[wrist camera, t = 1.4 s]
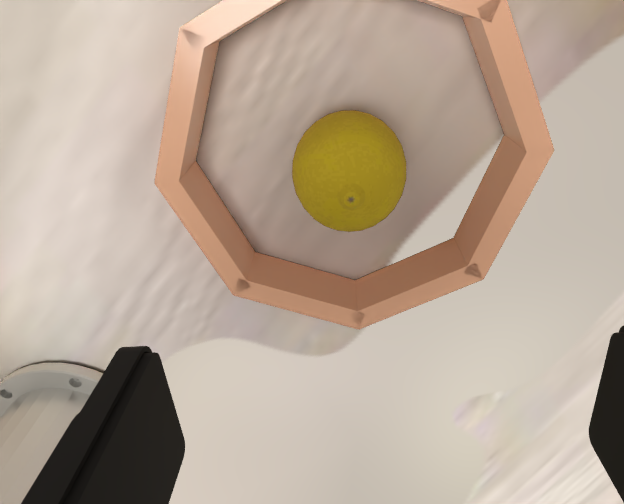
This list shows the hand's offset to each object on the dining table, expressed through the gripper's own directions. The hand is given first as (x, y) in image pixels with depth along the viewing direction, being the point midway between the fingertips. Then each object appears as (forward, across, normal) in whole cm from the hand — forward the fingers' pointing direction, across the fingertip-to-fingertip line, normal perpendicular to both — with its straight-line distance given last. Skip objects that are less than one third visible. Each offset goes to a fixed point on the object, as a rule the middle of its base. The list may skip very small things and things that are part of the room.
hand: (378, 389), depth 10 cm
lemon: (+20, 0, 0) cm, 20 cm away
